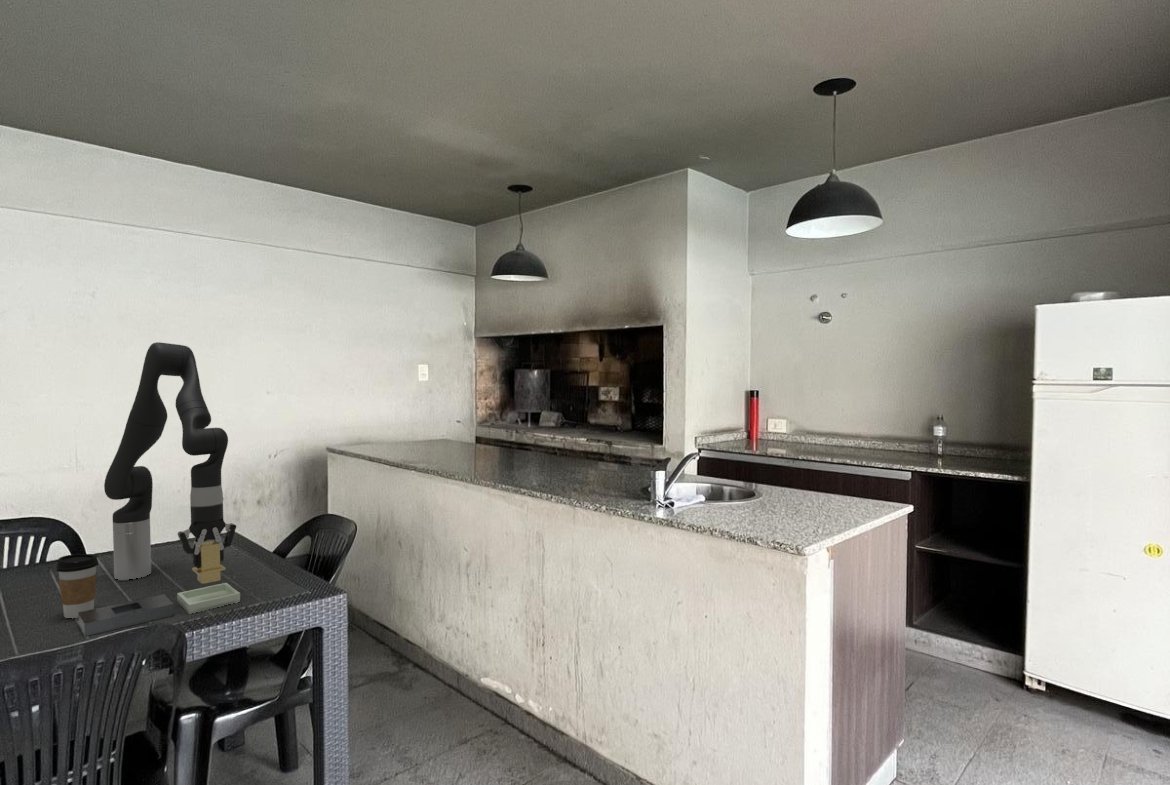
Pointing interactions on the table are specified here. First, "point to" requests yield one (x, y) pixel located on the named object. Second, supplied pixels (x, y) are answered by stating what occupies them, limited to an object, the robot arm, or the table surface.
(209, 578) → the brass plug
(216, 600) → the parts tray
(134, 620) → the grey metal block
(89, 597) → the coffee cup
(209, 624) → the table surface
